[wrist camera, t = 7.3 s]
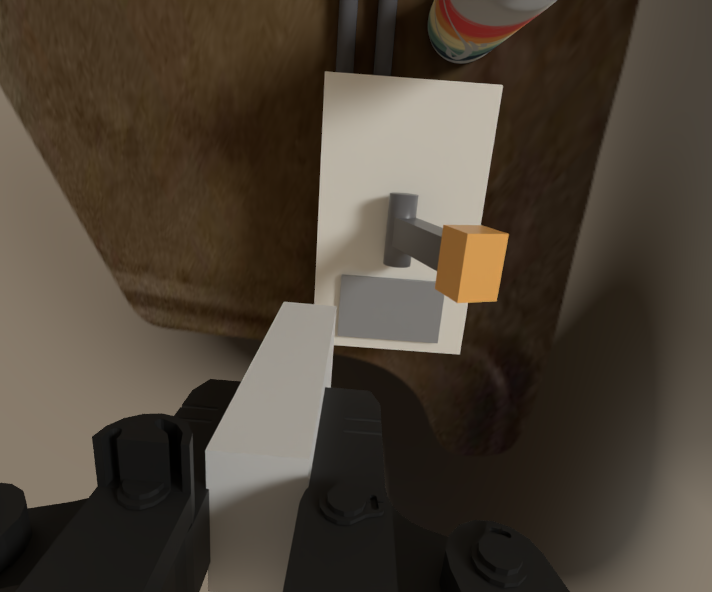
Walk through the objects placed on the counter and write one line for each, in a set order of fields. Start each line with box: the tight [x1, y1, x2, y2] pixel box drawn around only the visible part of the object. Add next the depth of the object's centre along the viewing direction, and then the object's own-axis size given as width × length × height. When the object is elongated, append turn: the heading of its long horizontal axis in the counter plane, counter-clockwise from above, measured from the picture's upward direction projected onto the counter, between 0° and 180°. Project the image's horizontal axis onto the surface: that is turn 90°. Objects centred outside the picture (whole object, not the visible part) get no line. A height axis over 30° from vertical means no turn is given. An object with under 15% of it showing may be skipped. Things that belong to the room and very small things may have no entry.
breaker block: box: [314, 71, 503, 354], centre depth 37 cm, size 20×12×7 cm, turn 176°
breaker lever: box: [383, 192, 509, 303], centre depth 28 cm, size 5×2×11 cm, turn 176°
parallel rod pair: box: [336, 0, 397, 76], centre depth 35 cm, size 9×4×1 cm, turn 176°
